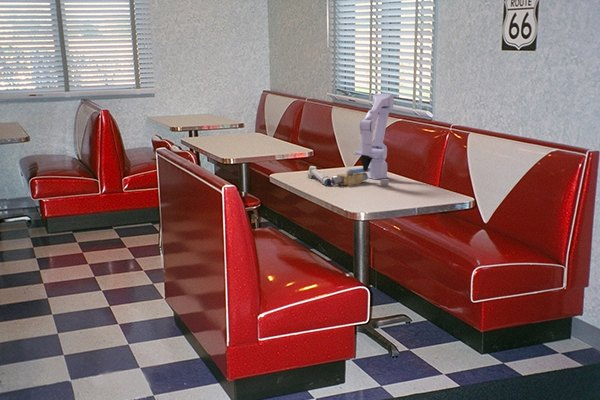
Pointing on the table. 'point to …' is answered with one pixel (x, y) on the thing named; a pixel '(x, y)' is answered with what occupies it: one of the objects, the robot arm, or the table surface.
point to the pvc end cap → (384, 182)
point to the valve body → (349, 179)
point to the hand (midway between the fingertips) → (365, 170)
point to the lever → (356, 171)
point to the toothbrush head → (318, 176)
